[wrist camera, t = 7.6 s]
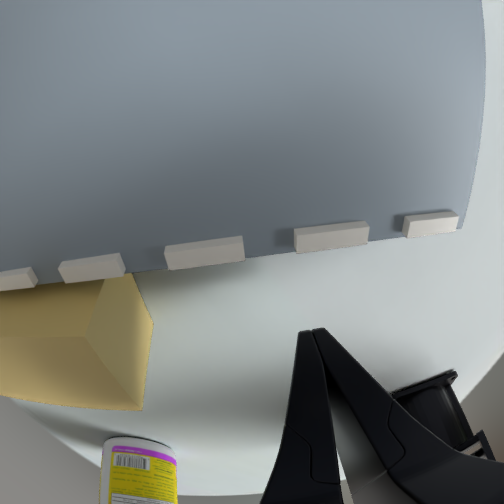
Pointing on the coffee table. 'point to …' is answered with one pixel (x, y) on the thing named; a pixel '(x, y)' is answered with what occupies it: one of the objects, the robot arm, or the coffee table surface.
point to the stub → (76, 344)
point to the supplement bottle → (137, 472)
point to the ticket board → (230, 129)
